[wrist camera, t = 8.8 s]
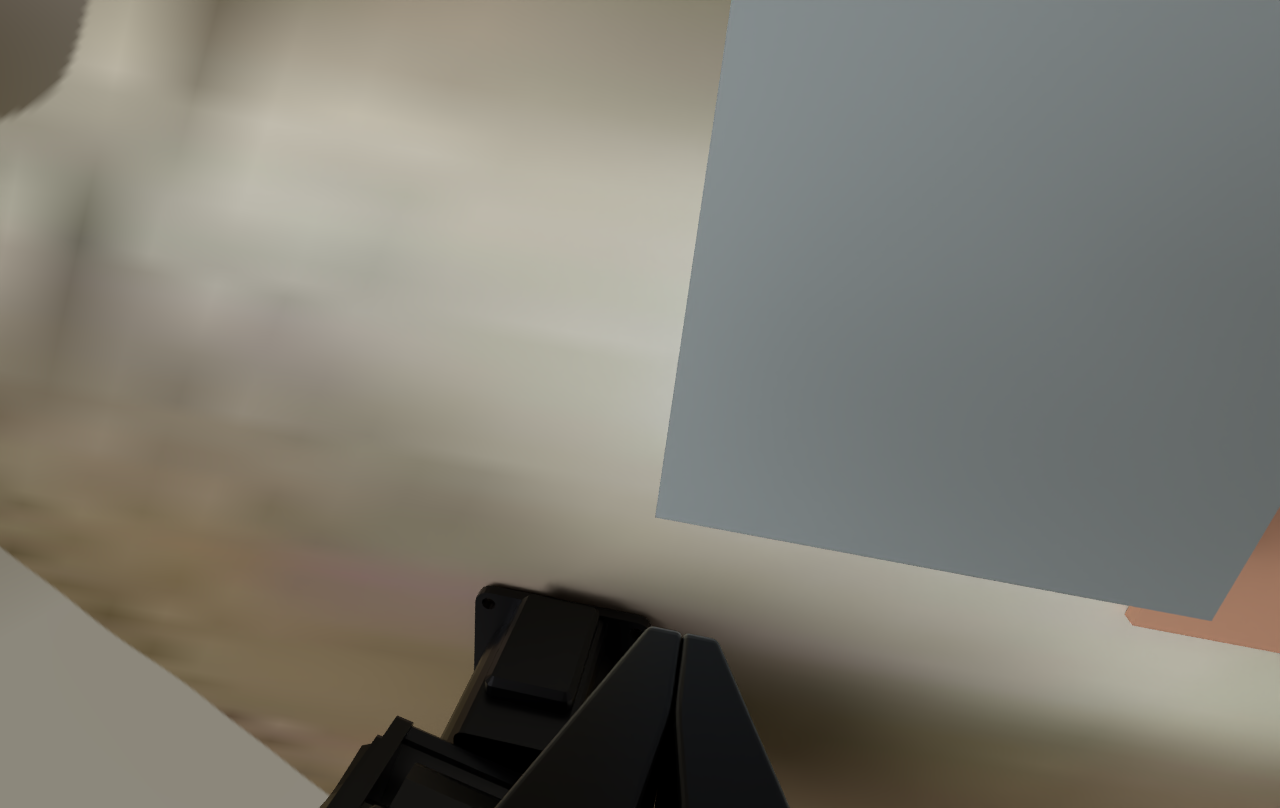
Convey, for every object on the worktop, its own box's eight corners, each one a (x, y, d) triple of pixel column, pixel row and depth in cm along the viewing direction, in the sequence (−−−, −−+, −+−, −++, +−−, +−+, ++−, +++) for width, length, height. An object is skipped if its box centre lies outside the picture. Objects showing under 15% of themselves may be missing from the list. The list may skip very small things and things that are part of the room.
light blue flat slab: (1130, 530, 20) (1211, 621, 17) (672, 449, 22) (655, 517, 18) (1397, -6, 15) (1608, -45, 11) (751, -71, 16) (750, -124, 12)
